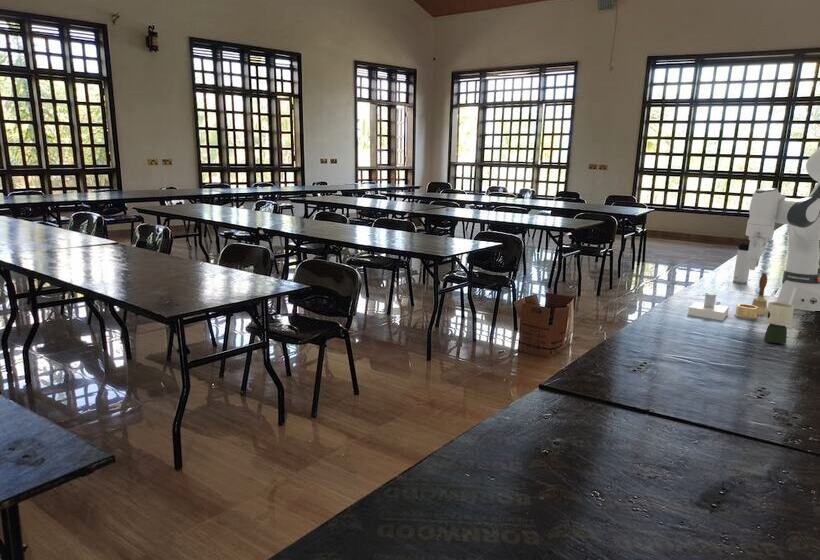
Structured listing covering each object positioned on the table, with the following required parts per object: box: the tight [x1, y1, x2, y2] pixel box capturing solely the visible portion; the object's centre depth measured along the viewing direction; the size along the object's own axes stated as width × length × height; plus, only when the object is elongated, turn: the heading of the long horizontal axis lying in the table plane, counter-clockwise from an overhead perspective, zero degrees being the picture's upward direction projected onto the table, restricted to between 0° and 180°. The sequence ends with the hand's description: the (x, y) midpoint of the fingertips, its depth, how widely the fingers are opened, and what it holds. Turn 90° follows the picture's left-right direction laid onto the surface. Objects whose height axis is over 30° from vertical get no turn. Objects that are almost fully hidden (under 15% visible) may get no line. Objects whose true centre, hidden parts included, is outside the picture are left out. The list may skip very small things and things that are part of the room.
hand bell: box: [751, 272, 768, 316], centre depth 228 cm, size 8×8×16 cm
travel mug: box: [732, 243, 750, 285], centre depth 285 cm, size 6×7×20 cm
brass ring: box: [735, 303, 758, 320], centre depth 222 cm, size 7×7×4 cm
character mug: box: [763, 301, 795, 345], centre depth 188 cm, size 11×7×13 cm, turn 140°
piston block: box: [687, 292, 730, 322], centre depth 222 cm, size 12×12×8 cm
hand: (753, 268), depth 219 cm, fingers open, 8 cm apart
